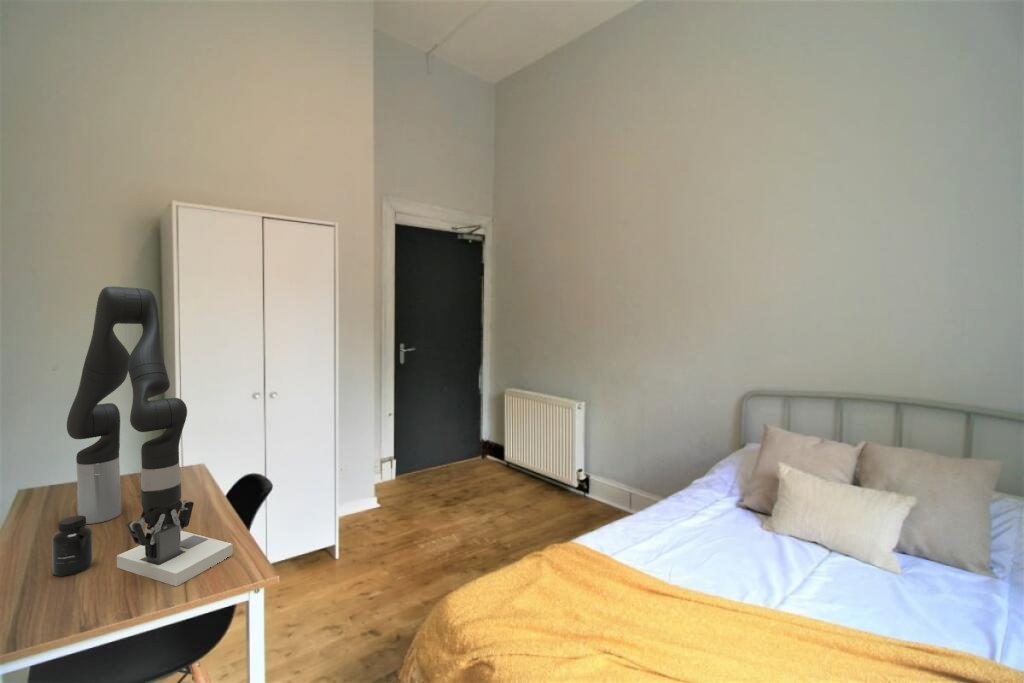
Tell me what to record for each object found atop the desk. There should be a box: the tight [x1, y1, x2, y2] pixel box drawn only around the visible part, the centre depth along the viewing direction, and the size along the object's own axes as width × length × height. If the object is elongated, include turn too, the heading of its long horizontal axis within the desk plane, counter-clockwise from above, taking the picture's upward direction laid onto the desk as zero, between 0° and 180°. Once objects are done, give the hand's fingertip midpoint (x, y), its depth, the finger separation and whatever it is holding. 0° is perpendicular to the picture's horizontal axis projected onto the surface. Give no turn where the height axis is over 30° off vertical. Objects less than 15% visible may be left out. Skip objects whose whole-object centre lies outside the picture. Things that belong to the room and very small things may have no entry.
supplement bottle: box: [51, 515, 93, 577], centre depth 108 cm, size 7×7×12 cm
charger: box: [147, 524, 180, 566], centre depth 110 cm, size 4×4×8 cm
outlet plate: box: [116, 530, 234, 587], centre depth 113 cm, size 20×14×3 cm
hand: (163, 552), depth 110 cm, fingers closed on charger, 4 cm apart
